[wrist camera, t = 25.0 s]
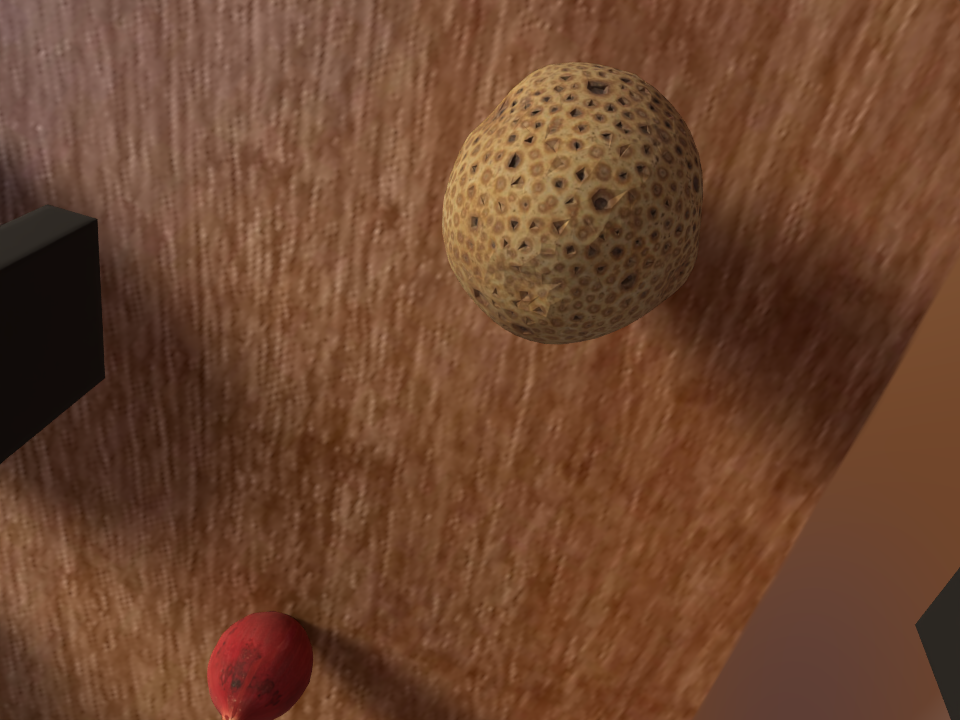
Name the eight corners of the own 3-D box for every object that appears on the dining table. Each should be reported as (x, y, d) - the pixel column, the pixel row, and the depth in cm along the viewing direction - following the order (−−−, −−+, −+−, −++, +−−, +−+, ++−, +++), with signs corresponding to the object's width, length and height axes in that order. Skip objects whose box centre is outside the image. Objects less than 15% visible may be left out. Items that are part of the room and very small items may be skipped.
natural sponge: (480, 39, 29) (410, 80, 21) (719, 54, 28) (749, 104, 19) (473, 261, 34) (413, 370, 25) (679, 282, 32) (689, 406, 24)
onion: (243, 572, 46) (172, 682, 40) (333, 595, 46) (277, 711, 39) (245, 636, 49) (179, 749, 43) (330, 659, 49) (277, 777, 42)
